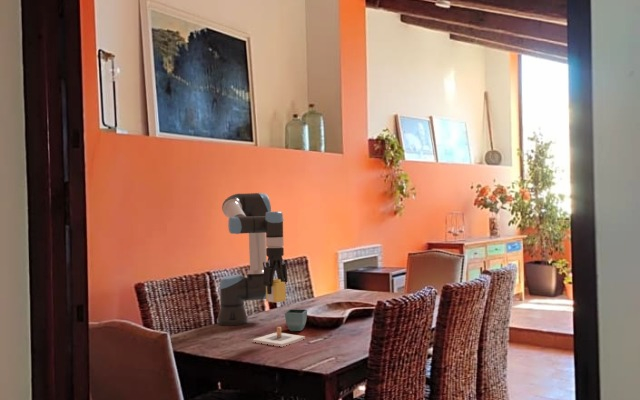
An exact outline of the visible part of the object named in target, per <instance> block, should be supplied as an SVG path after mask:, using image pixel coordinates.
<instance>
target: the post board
mask: <svg viewBox="0 0 640 400" xmlns="http://www.w3.org/2000/svg"><path fill="white" fill-rule="evenodd" d="M303 339H304V340H306V336H305V335H300V334H299V335H298V334H291V333H286V332H282V326H277V327H276V332H273V333H270V334H266V335H262V336H261V337H256V338H254V339H252V343H255V342H256V344H261V343H262V345H267V344H268V346H273V345H274V346H273V347H279V346H280V347H281V348H283V346H284V347H286V345H287V346H290V345H292V344H295V343H298V342H301V341H303ZM289 344H290V345H289ZM280 347H279V348H280Z"/></svg>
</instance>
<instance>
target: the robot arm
mask: <svg viewBox="0 0 640 400" xmlns="http://www.w3.org/2000/svg"><path fill="white" fill-rule="evenodd" d="M221 205H222V207H221V209H222V213H223V215H225V216H226V217H227V218H228V221H227V222H228V223H227V224H228V232H229V233H230V234H234V235H239V234H248V251H249V253H248V254H249V271H248V272H247V273H246V277H244V275H243V274H233V275H232V274H231V275H228V276H225V277H222V278H221V279H220V282H219V293H220V295H219V298H220V299H219V300H220V301H219V302H220V305H219V306H220V307H219V312H218V317H216V323H217V325H218V326H219V325H220V326H239V325H244V324H247V323H248V321H249V319H248V315H247V313H246V309H245V301H246V302H247V301H264V300H266V286H267V294H268V302H269V303H275V302H274V286H272V284H273V279H275V272H276V275H277V279H281V282H285V285H286V284H287V282H288V281H289V279H288V267H287V264H288V259H283V256H284V254H285V253H284V252H285V251H284V246H285V243H284V215H283V212H282V211H272V205H271V201H270V198H269V196H268V194H267V193H261V192H260V193H259V192H256V193H255V192H253V193H235V194H232V195H230V196H228V197H227V198H226V199H224V201H223V203H222V204H221Z"/></svg>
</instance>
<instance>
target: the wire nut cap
mask: <svg viewBox="0 0 640 400" xmlns="http://www.w3.org/2000/svg"><path fill="white" fill-rule="evenodd" d="M272 286H274V302H273V303H280V302H285V301H287V299H286V297H287V295H286V294H287V293H286V290H287V289H286V284H285V282H281V279H278V278H274V279H273V284H272ZM265 301H266V303H267V302H268V294H267V286H266V299H265Z"/></svg>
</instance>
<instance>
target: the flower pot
mask: <svg viewBox="0 0 640 400" xmlns="http://www.w3.org/2000/svg"><path fill="white" fill-rule="evenodd" d="M284 318H285V319H284V320H285V324H286V326H287V328H288V329H289V331H291V332H301V331H302V330H303V329H304V328H305V325H306V323H307V318H308V309H306V308H305V309H304V308H303V309H301V308H299V309H295V308H294V309H293V308H292V309H291V308H290V309H288V310H287V311H285V312H284Z"/></svg>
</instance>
